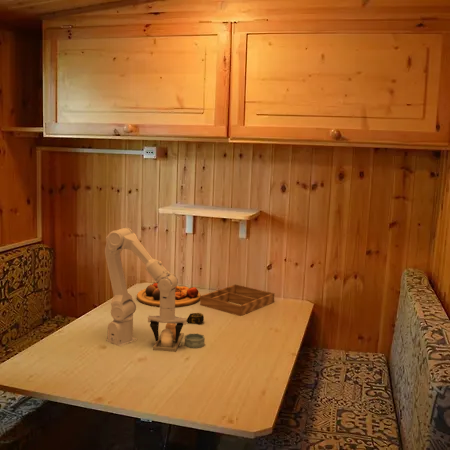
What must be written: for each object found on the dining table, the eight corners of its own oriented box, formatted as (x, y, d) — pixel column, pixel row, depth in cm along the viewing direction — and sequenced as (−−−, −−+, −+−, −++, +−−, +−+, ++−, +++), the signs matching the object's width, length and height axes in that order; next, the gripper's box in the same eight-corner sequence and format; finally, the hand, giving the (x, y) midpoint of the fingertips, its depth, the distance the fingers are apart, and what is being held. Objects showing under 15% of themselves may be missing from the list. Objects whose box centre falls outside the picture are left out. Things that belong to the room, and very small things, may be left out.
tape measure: (190, 319, 231) (190, 311, 231) (205, 321, 230) (205, 312, 229) (186, 324, 225) (186, 316, 224) (201, 326, 223) (201, 317, 223)
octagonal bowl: (195, 351, 196) (195, 342, 196) (180, 346, 201) (180, 337, 200) (208, 345, 202) (208, 336, 202) (193, 340, 207) (193, 332, 206)
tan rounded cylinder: (167, 349, 195) (167, 331, 194) (158, 346, 198) (158, 328, 197) (174, 346, 199) (175, 328, 198) (166, 343, 201) (166, 325, 200)
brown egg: (171, 341, 203) (171, 324, 202) (162, 339, 206) (163, 322, 205) (178, 338, 206) (179, 321, 205) (170, 336, 209) (170, 319, 208)
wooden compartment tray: (240, 316, 238) (241, 306, 237) (200, 305, 252) (200, 296, 251) (274, 302, 261) (274, 293, 260) (235, 292, 275) (235, 284, 274)
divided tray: (175, 352, 194) (175, 348, 194) (152, 351, 195) (152, 347, 194) (183, 337, 210) (183, 333, 210) (162, 335, 211) (162, 331, 210)
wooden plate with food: (212, 296, 268) (213, 281, 267) (176, 312, 241) (176, 295, 239) (162, 286, 284) (163, 271, 283) (123, 300, 257) (123, 284, 255)
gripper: (188, 304, 199) (187, 338, 201) (151, 302, 201) (150, 336, 203) (185, 310, 192) (184, 345, 194) (146, 307, 194) (146, 342, 196)
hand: (166, 341), depth 198 cm, fingers open, 7 cm apart
